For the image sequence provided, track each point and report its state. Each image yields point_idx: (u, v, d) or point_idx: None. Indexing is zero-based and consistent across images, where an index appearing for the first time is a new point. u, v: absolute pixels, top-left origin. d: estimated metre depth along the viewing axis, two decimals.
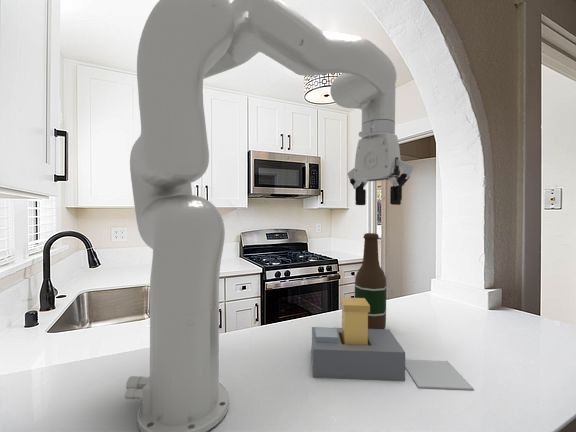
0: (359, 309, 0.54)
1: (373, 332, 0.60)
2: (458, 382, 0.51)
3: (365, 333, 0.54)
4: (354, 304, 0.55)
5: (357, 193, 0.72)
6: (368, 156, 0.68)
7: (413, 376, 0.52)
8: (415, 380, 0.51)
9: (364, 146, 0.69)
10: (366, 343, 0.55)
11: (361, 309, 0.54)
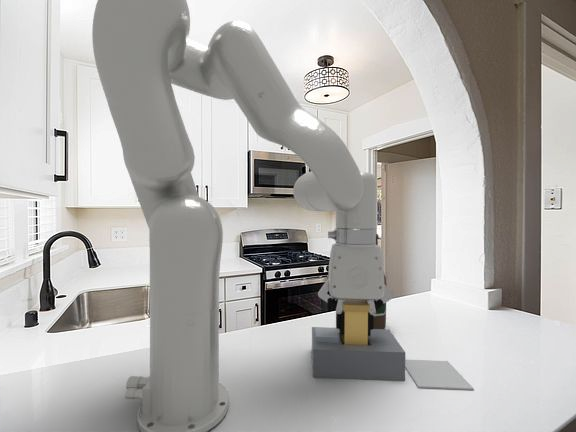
0: (359, 309, 0.54)
1: (373, 332, 0.60)
2: (458, 382, 0.51)
3: (365, 333, 0.54)
4: (354, 304, 0.55)
5: (343, 320, 0.55)
6: (354, 272, 0.54)
7: (413, 376, 0.52)
8: (415, 380, 0.51)
9: (348, 258, 0.54)
10: (366, 343, 0.55)
11: (361, 309, 0.54)
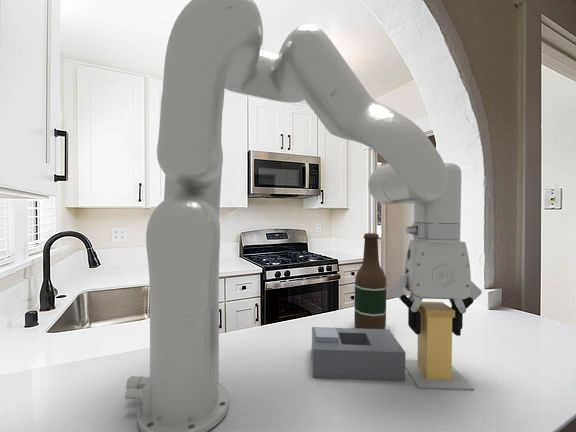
0: (443, 314, 0.51)
1: (373, 332, 0.60)
2: (458, 382, 0.51)
3: (449, 340, 0.51)
4: (437, 309, 0.51)
5: (419, 319, 0.52)
6: (439, 269, 0.50)
7: (413, 376, 0.52)
8: (415, 380, 0.51)
9: (433, 254, 0.50)
10: (450, 350, 0.51)
11: (445, 314, 0.51)
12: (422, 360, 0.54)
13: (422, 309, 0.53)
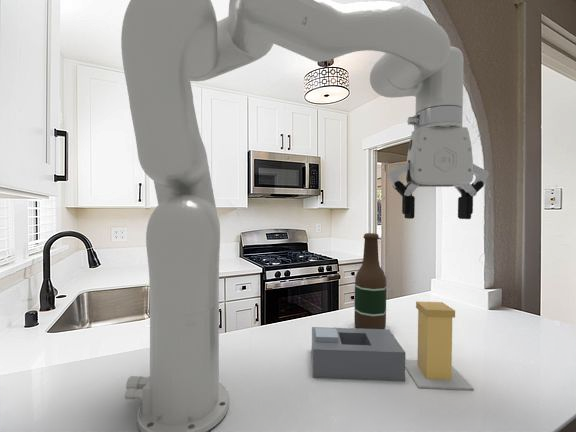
0: (443, 314, 0.51)
1: (373, 332, 0.60)
2: (458, 382, 0.51)
3: (449, 340, 0.51)
4: (437, 309, 0.51)
5: (413, 202, 0.52)
6: (441, 154, 0.50)
7: (413, 376, 0.52)
8: (415, 380, 0.51)
9: (435, 139, 0.50)
10: (450, 350, 0.51)
11: (445, 314, 0.51)
12: (422, 360, 0.54)
13: (422, 309, 0.53)
